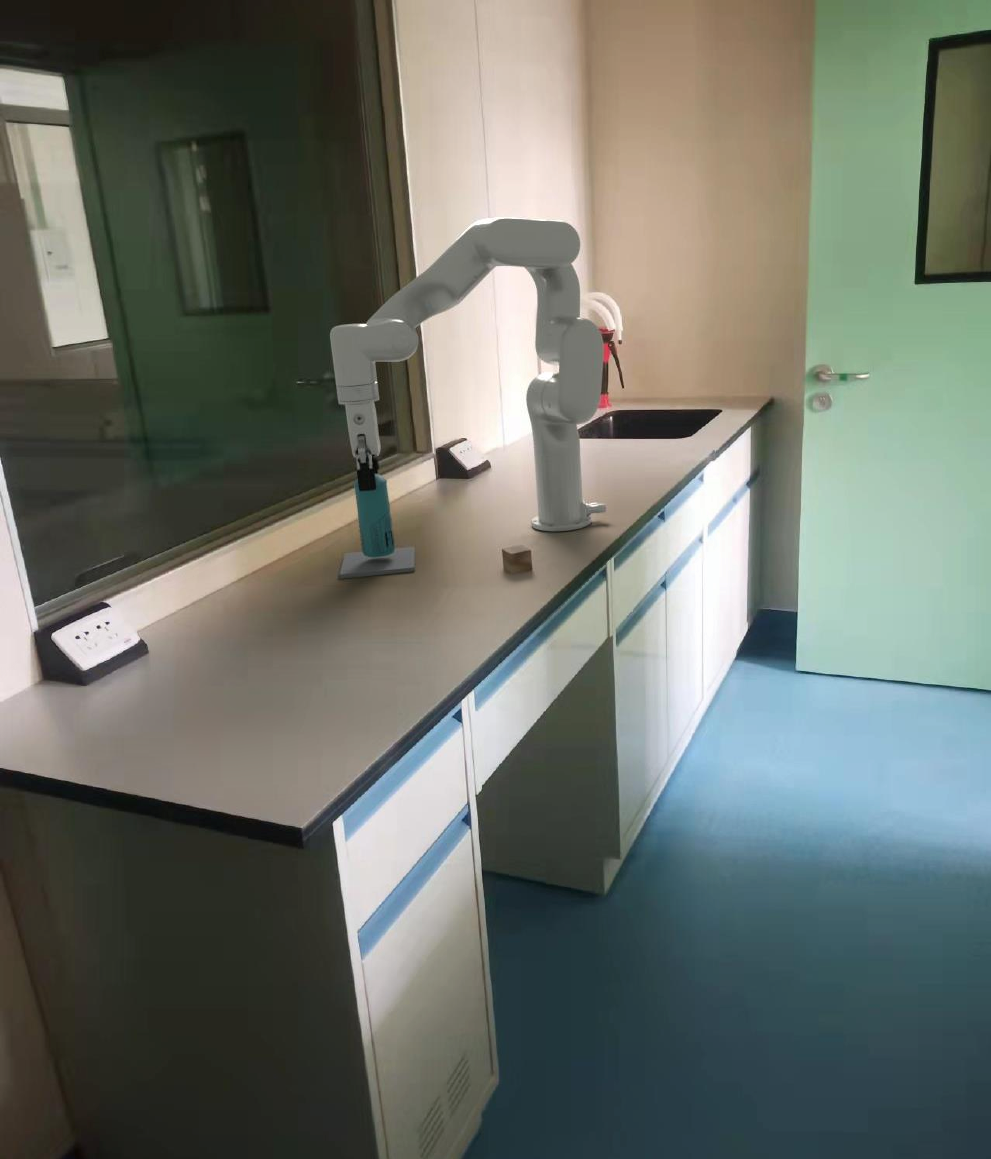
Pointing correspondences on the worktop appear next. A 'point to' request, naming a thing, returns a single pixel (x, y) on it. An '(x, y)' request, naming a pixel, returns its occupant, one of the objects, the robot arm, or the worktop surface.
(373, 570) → the rubber mat
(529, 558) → the walnut block
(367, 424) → the robot arm
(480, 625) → the worktop surface
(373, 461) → the beverage bottle
